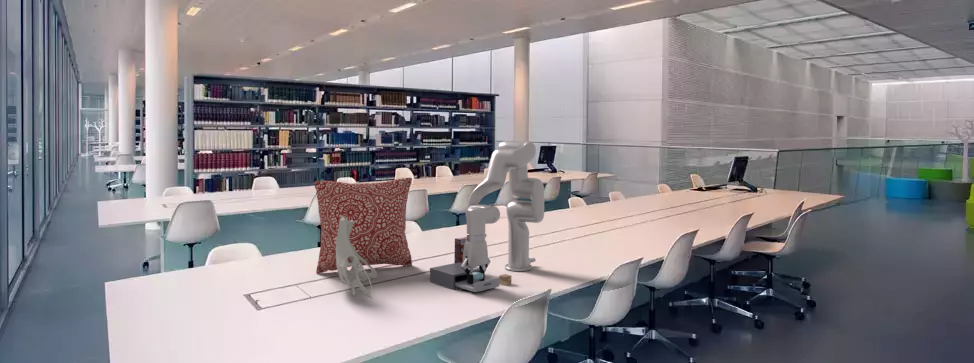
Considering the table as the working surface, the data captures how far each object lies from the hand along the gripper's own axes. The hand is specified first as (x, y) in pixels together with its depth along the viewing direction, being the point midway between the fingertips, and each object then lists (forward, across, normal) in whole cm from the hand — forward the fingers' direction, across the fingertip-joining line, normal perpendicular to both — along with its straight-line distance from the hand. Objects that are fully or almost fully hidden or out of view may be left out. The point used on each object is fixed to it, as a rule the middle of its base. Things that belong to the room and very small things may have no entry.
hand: (475, 281), depth 236 cm
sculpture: (+3, +37, -28) cm, 47 cm away
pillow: (+3, +17, -57) cm, 60 cm away
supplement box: (+3, -13, -22) cm, 26 cm away
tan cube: (+3, -14, +3) cm, 15 cm away
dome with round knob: (-2, 0, 0) cm, 2 cm away
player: (+3, 0, -11) cm, 12 cm away
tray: (+2, 0, 0) cm, 2 cm away
